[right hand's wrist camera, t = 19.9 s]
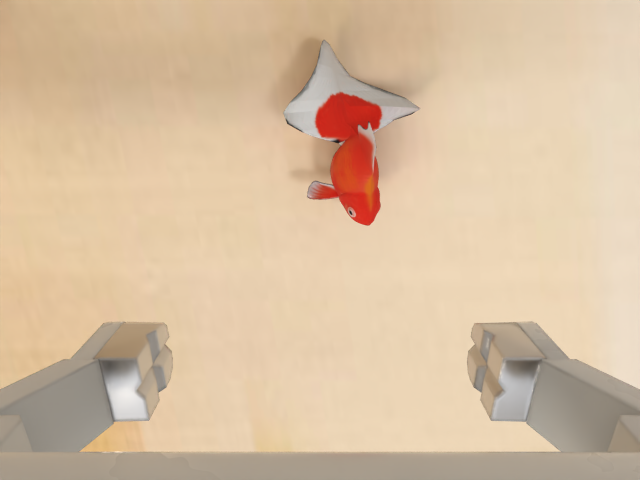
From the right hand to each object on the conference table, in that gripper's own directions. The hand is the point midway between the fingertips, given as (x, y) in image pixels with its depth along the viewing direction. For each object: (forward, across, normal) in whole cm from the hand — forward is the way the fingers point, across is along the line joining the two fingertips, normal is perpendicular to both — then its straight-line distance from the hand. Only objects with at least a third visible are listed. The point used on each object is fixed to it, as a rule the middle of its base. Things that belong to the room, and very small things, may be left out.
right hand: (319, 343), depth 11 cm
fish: (+31, -2, -2) cm, 31 cm away
